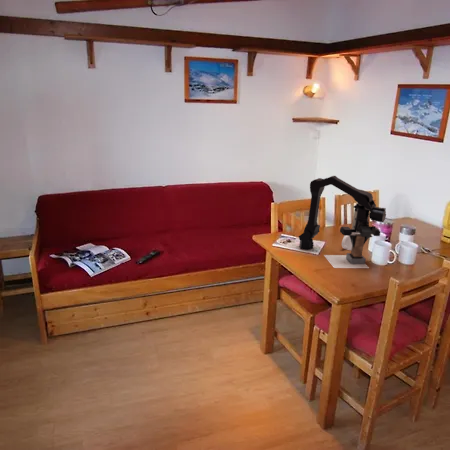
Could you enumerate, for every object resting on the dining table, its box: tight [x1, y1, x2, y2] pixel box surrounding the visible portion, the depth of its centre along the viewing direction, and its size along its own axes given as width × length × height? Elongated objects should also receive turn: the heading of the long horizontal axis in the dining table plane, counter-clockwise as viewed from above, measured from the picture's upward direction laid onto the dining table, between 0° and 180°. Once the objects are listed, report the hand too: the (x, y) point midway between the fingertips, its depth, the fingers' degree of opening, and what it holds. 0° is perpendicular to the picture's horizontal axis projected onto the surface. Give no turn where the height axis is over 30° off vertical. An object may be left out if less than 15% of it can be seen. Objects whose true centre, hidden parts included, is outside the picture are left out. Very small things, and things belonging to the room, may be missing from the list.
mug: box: [341, 233, 360, 251], centre depth 222 cm, size 12×8×10 cm
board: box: [323, 254, 370, 269], centre depth 206 cm, size 18×16×1 cm
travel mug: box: [351, 202, 357, 229], centre depth 253 cm, size 8×8×18 cm
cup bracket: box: [345, 252, 367, 264], centre depth 206 cm, size 7×7×3 cm
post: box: [350, 234, 365, 257], centre depth 204 cm, size 4×4×11 cm
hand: (357, 247), depth 204 cm, fingers closed on post, 4 cm apart
